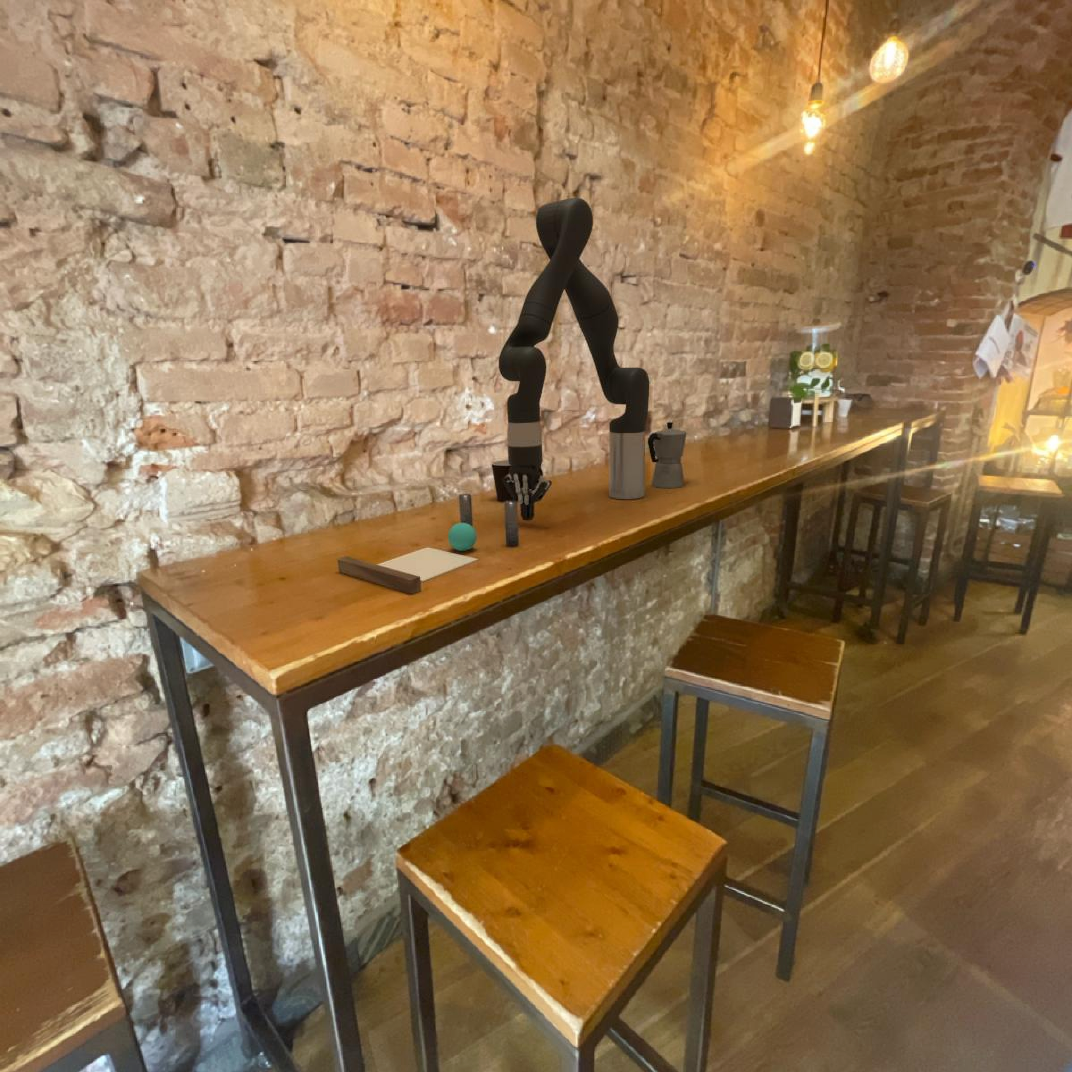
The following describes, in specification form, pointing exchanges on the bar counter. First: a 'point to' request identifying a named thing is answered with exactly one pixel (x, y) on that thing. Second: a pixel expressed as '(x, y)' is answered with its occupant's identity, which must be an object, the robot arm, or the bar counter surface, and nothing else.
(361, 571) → the wall
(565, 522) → the bar counter surface
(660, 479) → the coffeepot
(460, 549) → the ball
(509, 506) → the post
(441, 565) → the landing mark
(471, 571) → the bar counter surface
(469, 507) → the post
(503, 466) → the coffee mug
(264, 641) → the bar counter surface
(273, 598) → the bar counter surface
